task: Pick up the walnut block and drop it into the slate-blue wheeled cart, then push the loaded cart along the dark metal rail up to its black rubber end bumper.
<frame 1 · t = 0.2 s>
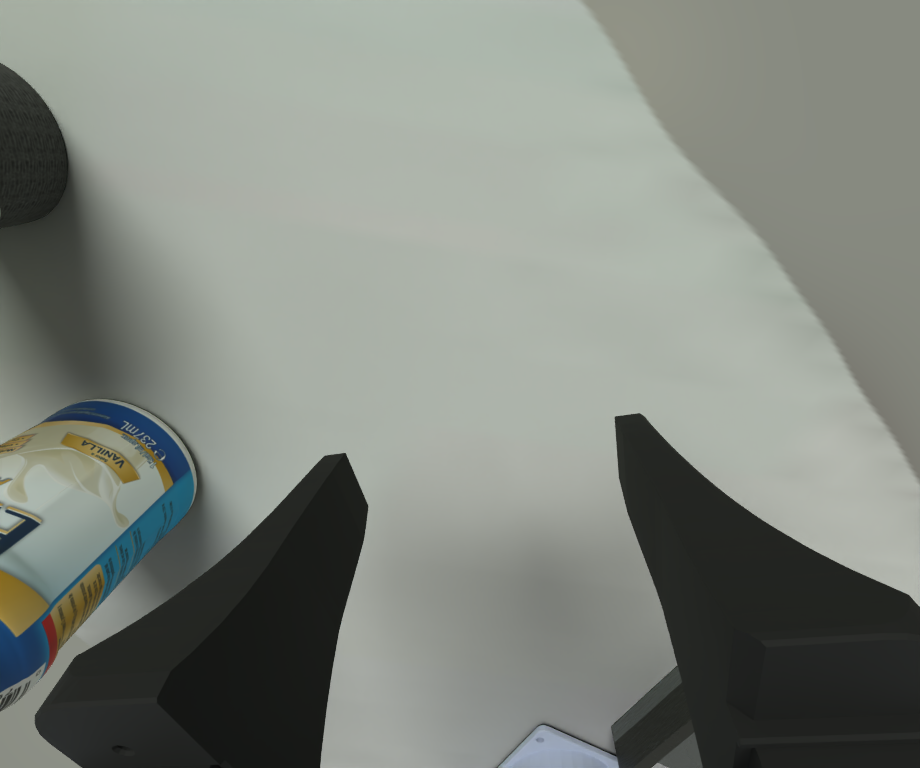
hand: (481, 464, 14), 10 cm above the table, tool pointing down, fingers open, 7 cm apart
rail: (809, 752, 32), on the table
beverage bottle: (131, 460, 28), on the table
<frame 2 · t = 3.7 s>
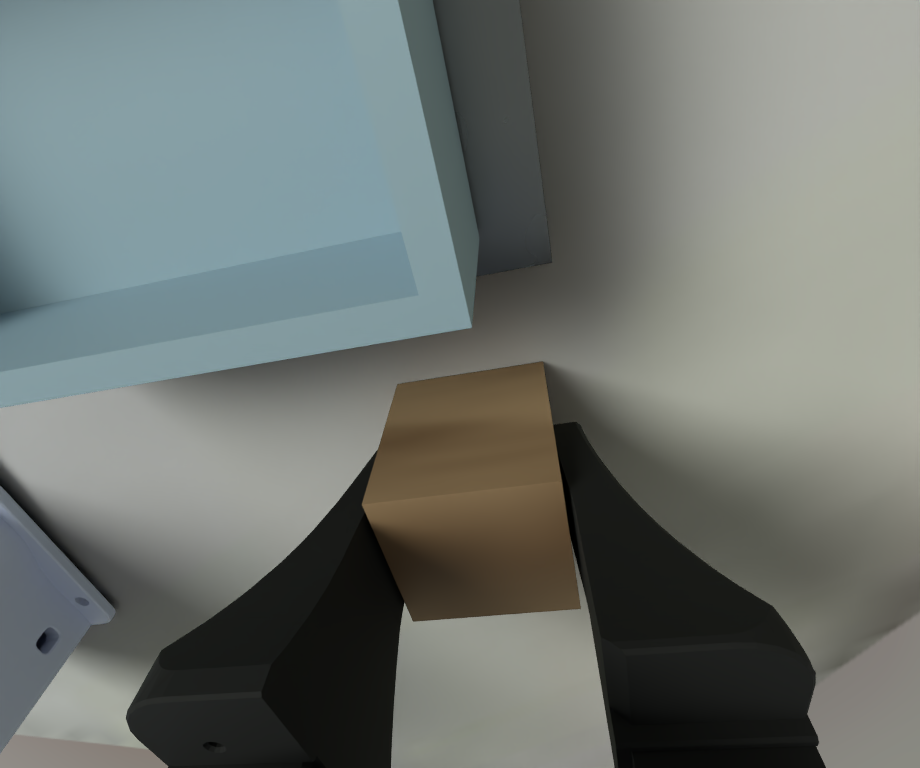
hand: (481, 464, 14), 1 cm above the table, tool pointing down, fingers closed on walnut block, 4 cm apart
cart: (20, 90, 8), point 3 cm above the table, slide at 0.0 cm
walnut block: (482, 431, 15), on the table, touching gripper
when the fingers open (5 cm above the table, at t = 6.6 s): walnut block drops 1 cm, resting on cart.
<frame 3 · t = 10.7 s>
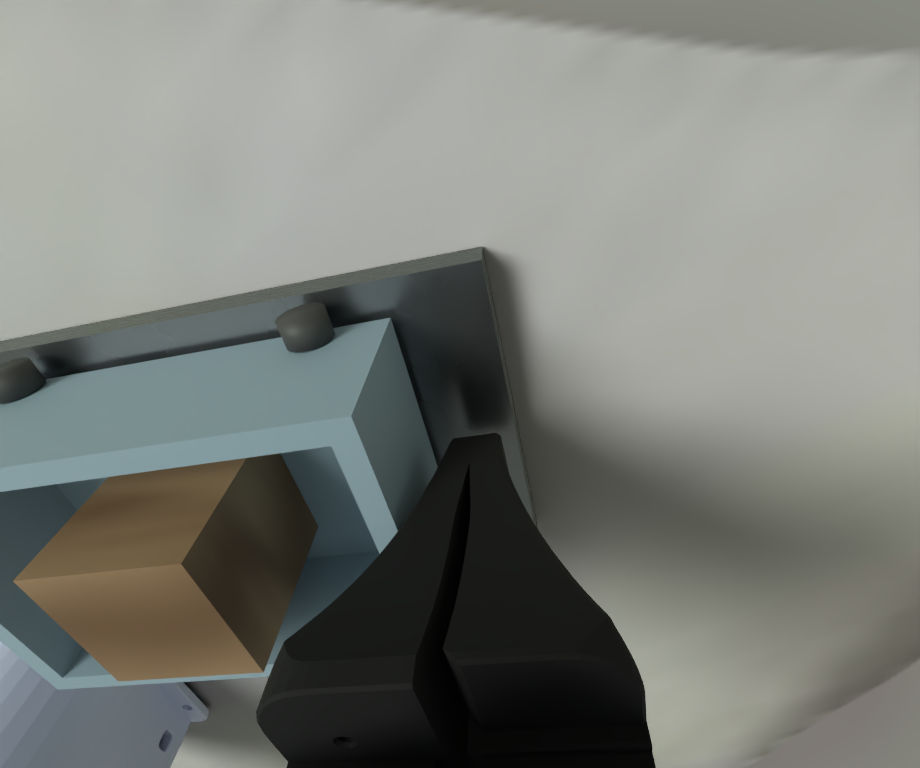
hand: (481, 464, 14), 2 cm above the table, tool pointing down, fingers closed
rail: (182, 454, 17), on the table
cart: (207, 522, 14), point 3 cm above the table, slide at 1.1 cm, touching gripper, walnut block
walnut block: (232, 487, 15), point 2 cm above the table, touching cart
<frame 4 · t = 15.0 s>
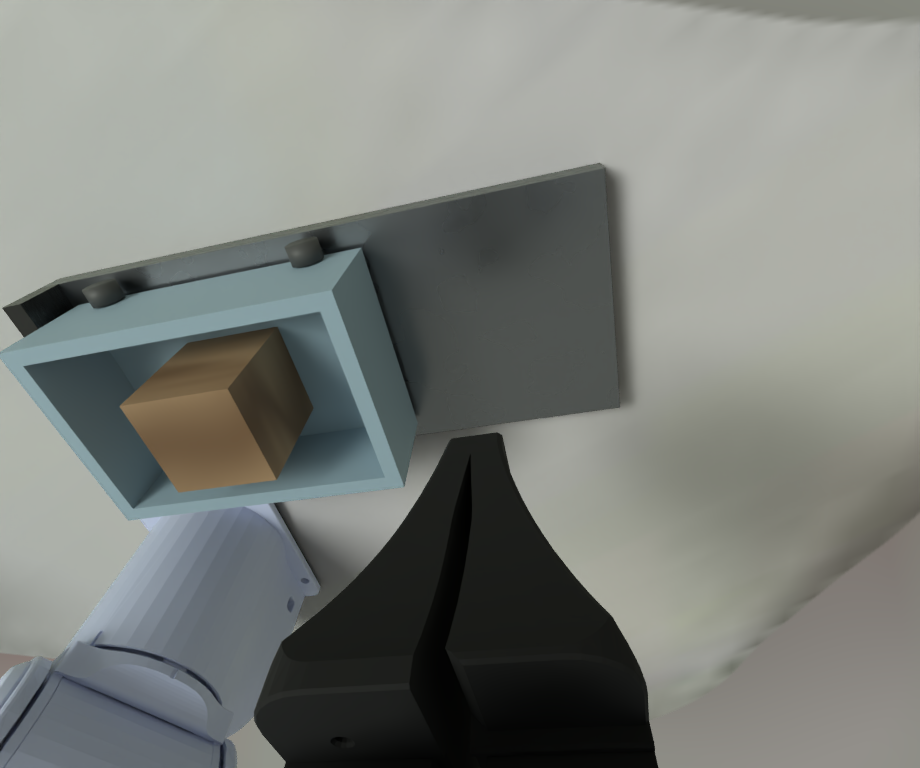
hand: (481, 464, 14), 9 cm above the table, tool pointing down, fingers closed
rail: (346, 338, 23), on the table
cart: (236, 393, 20), point 3 cm above the table, slide at 7.5 cm, touching walnut block
walnut block: (252, 376, 22), point 2 cm above the table, touching cart
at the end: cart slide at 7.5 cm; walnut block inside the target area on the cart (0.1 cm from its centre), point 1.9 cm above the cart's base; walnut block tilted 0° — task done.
